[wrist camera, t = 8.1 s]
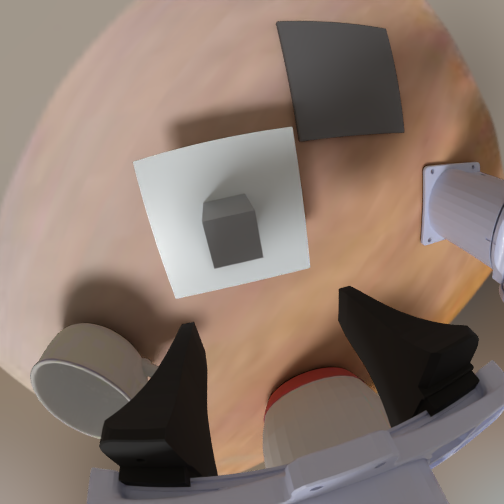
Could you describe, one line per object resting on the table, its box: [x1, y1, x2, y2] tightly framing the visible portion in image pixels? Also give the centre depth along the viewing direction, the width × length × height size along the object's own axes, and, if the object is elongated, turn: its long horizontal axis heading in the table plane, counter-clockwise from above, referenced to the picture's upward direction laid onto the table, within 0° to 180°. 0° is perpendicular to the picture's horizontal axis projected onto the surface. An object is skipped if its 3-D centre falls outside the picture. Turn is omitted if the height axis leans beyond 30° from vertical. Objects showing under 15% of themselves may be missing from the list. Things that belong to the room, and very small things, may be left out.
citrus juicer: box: [263, 367, 391, 469], centre depth 23 cm, size 16×17×20 cm
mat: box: [276, 21, 404, 141], centre depth 17 cm, size 10×10×1 cm
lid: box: [133, 127, 310, 299], centre depth 15 cm, size 9×9×4 cm
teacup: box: [30, 323, 159, 439], centre depth 21 cm, size 14×11×8 cm
